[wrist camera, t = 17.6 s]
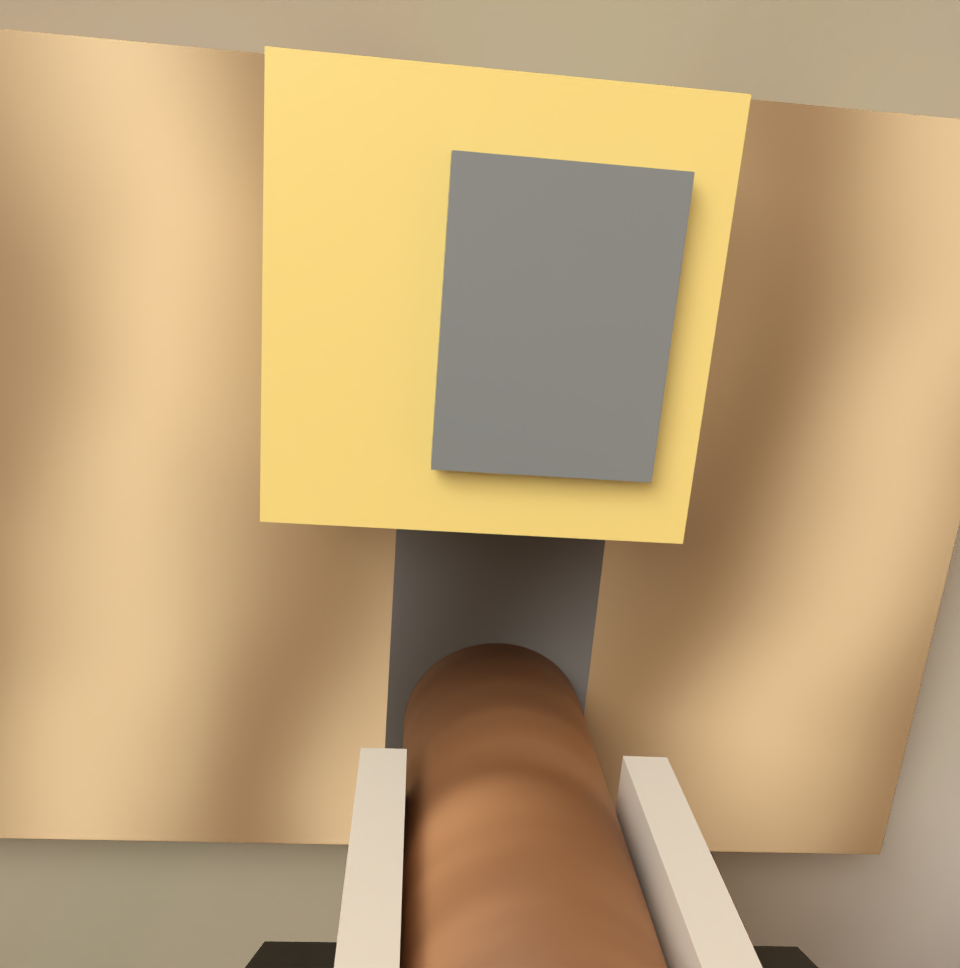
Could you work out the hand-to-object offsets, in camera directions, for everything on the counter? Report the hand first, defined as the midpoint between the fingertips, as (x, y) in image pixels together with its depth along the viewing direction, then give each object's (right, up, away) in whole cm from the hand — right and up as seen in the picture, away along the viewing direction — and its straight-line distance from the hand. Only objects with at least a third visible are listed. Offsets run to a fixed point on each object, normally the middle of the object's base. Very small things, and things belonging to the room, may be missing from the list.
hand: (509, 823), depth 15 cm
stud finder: (-1, +9, +1) cm, 9 cm away
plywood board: (-4, +6, +3) cm, 8 cm away
